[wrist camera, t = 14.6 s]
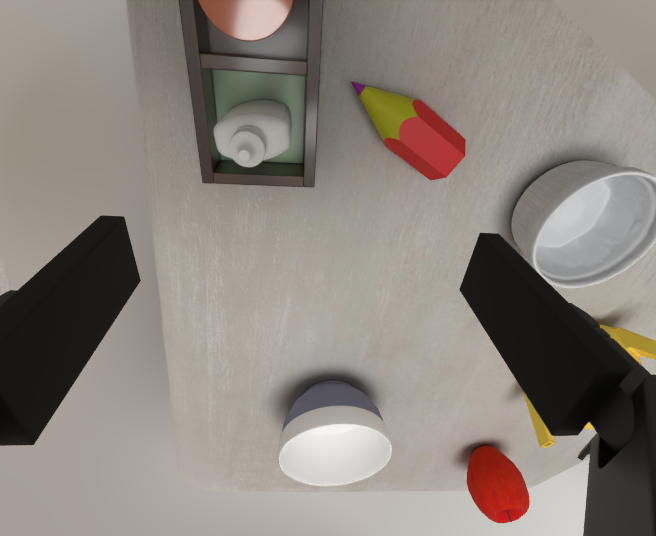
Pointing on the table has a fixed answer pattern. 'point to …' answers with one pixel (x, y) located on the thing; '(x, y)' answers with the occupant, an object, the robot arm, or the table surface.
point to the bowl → (333, 436)
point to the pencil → (413, 131)
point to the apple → (496, 485)
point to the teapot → (630, 343)
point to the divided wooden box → (255, 91)
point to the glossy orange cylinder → (249, 17)
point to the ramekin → (586, 222)
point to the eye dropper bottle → (254, 131)
